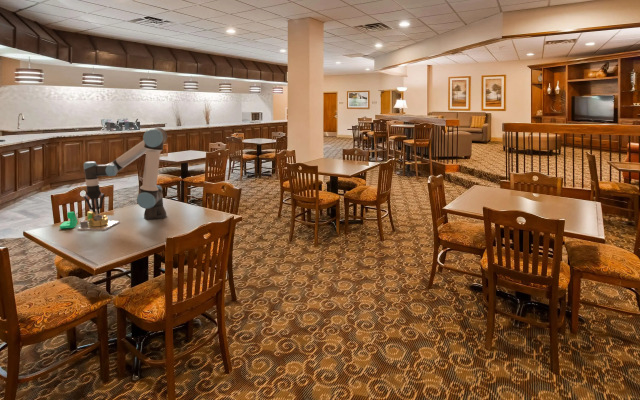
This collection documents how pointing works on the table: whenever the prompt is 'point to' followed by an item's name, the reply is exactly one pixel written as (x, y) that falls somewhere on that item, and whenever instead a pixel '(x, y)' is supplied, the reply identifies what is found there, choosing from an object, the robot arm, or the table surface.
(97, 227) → the housing
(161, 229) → the table surface
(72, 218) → the camera mount
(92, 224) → the gold lumpy cluster
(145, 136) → the robot arm
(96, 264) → the table surface
